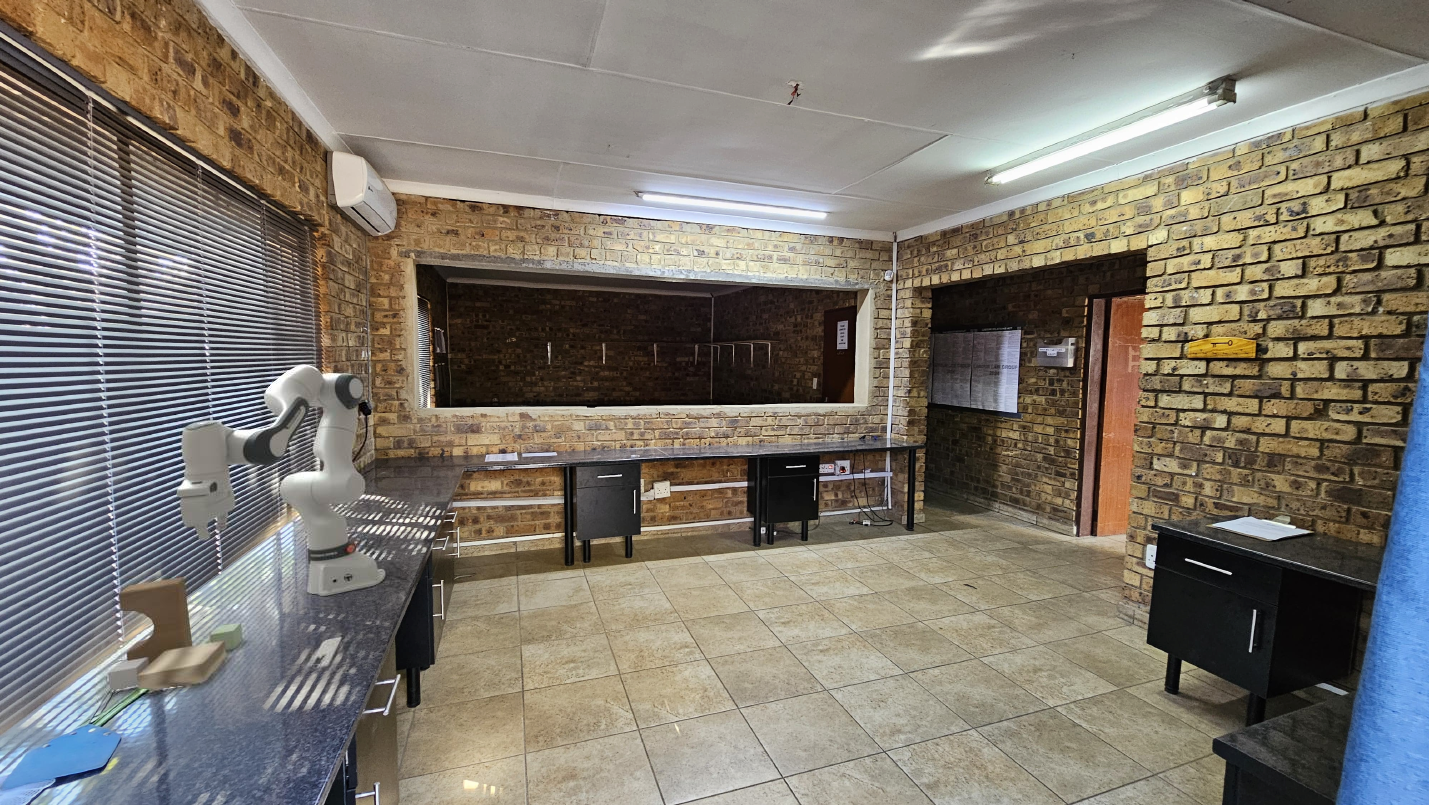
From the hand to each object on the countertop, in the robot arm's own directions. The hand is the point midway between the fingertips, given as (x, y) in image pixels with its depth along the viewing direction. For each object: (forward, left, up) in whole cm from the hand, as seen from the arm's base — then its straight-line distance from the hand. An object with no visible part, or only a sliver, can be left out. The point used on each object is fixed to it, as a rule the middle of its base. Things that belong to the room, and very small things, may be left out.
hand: (213, 534), depth 151 cm
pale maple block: (+3, +15, -31) cm, 34 cm away
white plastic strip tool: (-26, +17, -31) cm, 44 cm away
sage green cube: (-1, +1, -31) cm, 31 cm away
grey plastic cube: (+13, +14, -31) cm, 36 cm away
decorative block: (+12, +2, -31) cm, 33 cm away
